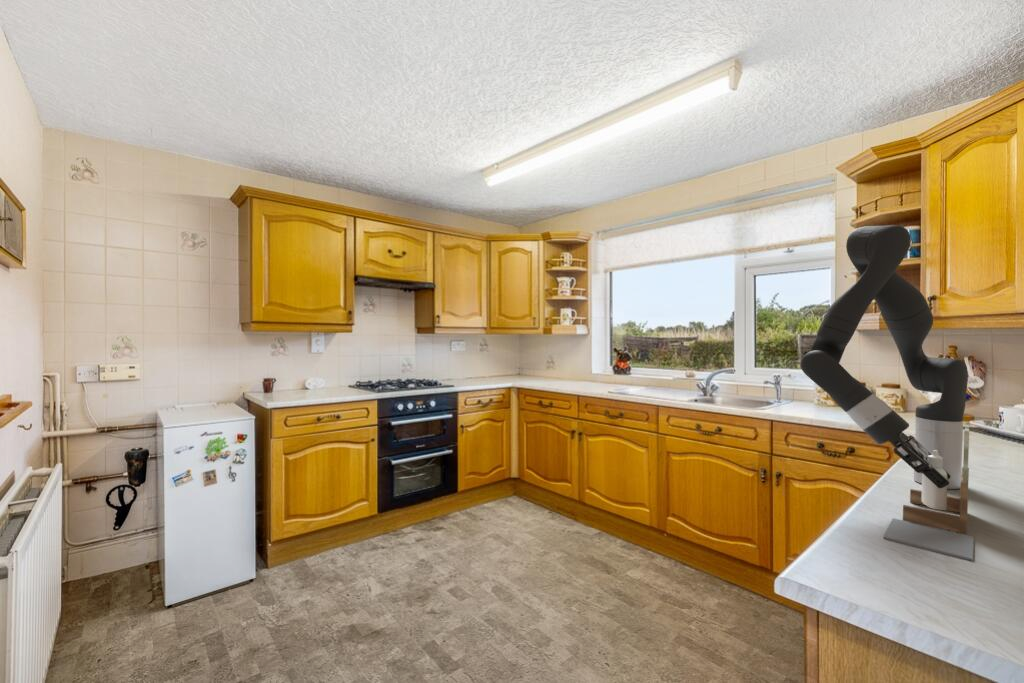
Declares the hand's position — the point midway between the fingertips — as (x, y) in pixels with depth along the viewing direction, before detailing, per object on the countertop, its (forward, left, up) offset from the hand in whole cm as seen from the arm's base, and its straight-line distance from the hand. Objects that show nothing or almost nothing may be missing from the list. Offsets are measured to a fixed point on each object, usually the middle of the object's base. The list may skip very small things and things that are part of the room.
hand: (945, 482), depth 98 cm
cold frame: (0, -2, -8) cm, 8 cm away
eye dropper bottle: (0, -2, -6) cm, 6 cm away
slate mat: (+16, -2, -8) cm, 18 cm away
